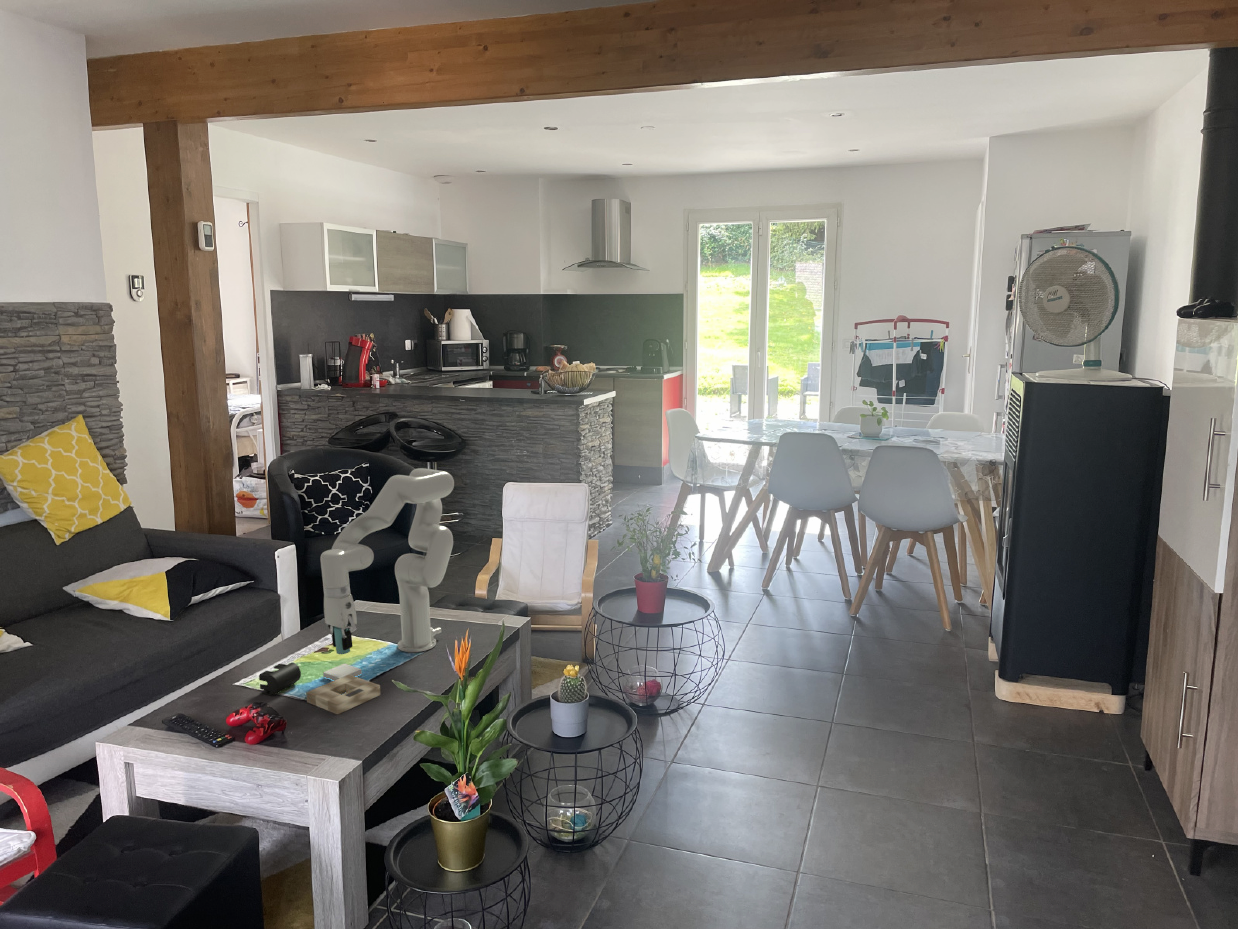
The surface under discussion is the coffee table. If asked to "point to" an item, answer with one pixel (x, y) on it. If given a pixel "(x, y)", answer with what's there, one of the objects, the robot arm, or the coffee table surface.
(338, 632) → the teal peg
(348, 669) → the light grey square slab
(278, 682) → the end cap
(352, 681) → the plate
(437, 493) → the robot arm
